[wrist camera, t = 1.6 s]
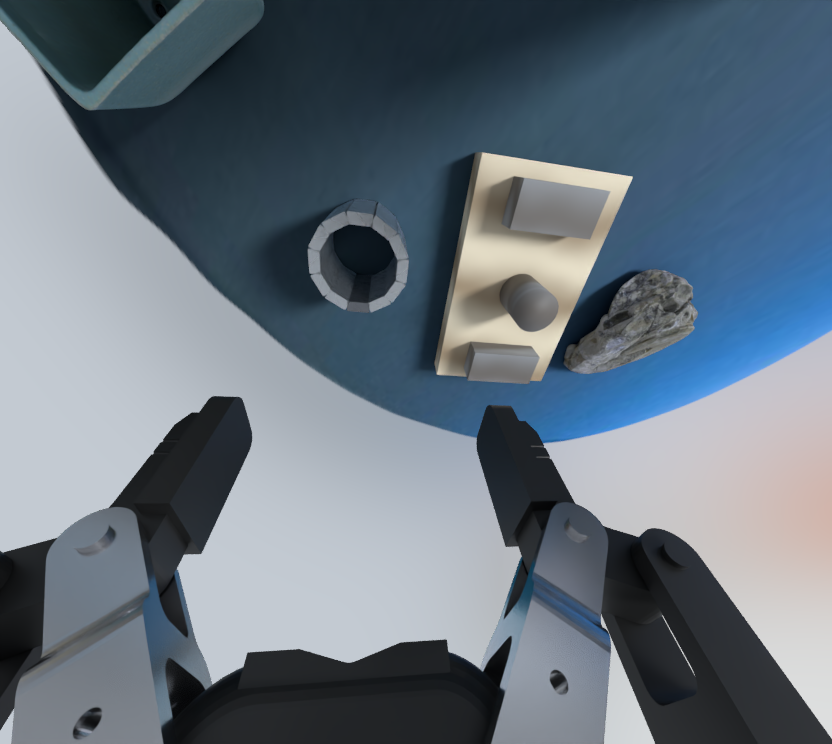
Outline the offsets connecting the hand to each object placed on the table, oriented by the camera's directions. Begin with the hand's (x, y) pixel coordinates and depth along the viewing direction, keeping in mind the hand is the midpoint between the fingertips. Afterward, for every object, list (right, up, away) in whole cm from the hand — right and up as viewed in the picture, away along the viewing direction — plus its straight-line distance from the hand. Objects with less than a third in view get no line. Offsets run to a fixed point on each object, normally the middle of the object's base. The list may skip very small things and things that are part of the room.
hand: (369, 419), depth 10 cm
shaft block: (+10, +10, +17) cm, 22 cm away
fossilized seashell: (+22, +7, +21) cm, 31 cm away
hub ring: (-3, +12, +14) cm, 19 cm away
